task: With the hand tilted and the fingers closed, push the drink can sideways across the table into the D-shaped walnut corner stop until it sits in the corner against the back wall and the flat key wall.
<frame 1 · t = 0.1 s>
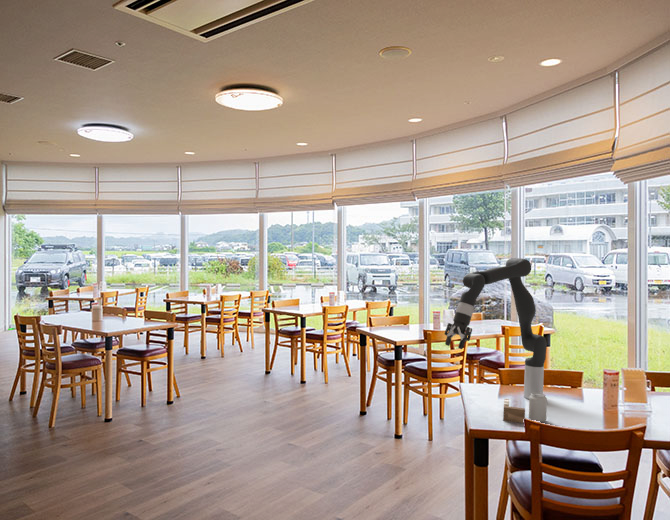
hand: (453, 346, 234), 31 cm above the table, tool tilted 20°, fingers open, 8 cm apart
corner stop: (514, 417, 232), on the table
can: (537, 420, 229), on the table
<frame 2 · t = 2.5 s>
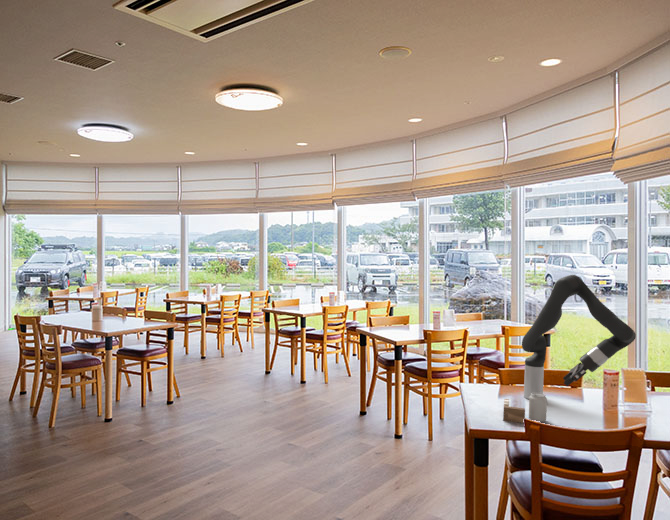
hand: (564, 382, 224), 19 cm above the table, tool tilted 45°, fingers open, 8 cm apart
nothing on the table moved.
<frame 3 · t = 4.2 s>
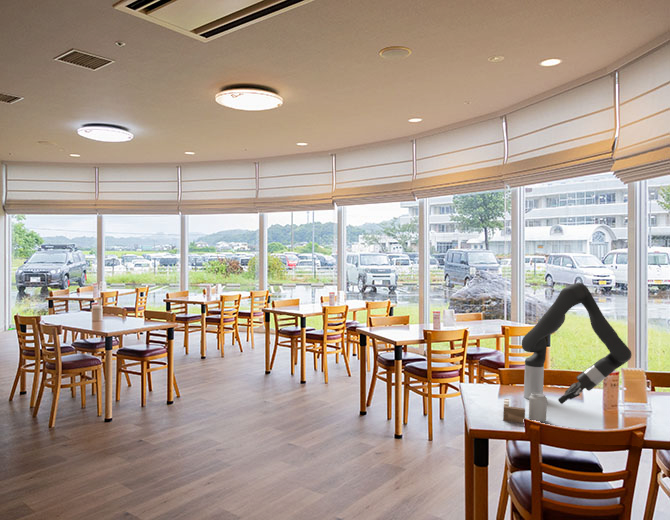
hand: (559, 401, 225), 10 cm above the table, tool tilted 45°, fingers closed
nothing on the table moved.
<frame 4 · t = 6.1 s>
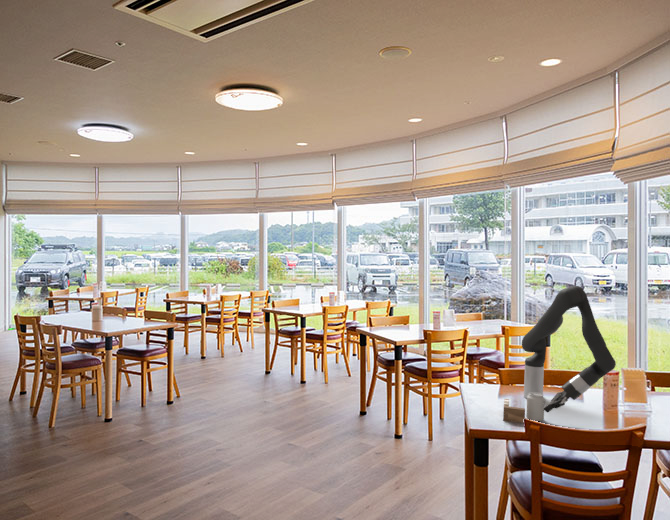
hand: (545, 410, 228), 5 cm above the table, tool tilted 45°, fingers closed
can: (535, 420, 229), on the table, touching gripper
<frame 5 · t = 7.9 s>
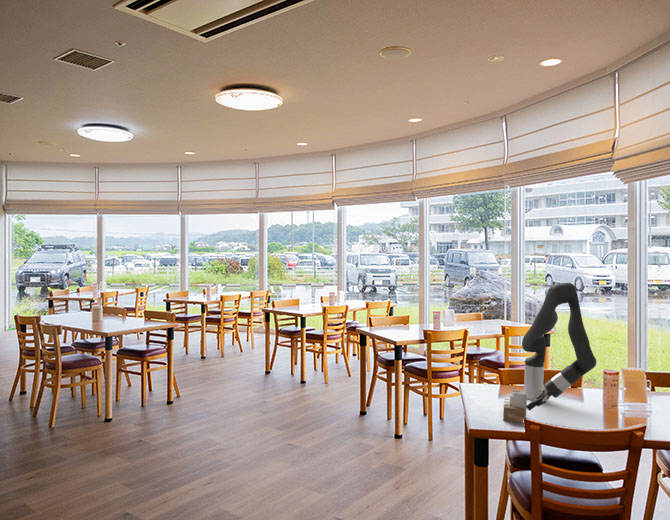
hand: (527, 408, 230), 5 cm above the table, tool tilted 45°, fingers closed
can: (517, 418, 231), on the table, touching gripper
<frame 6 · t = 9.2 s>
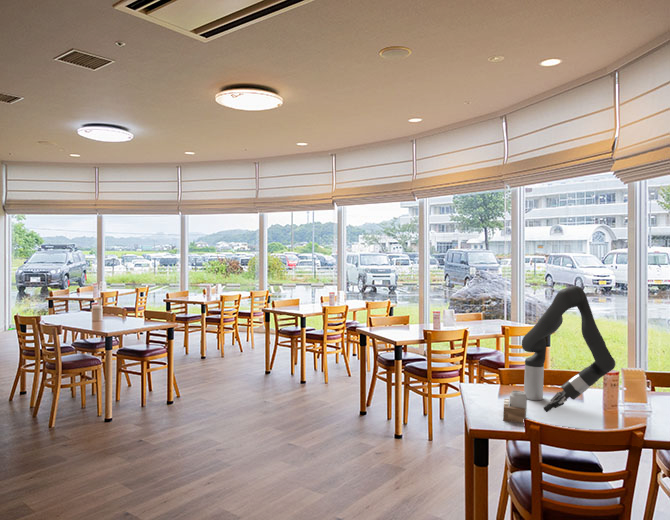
hand: (544, 410, 227), 5 cm above the table, tool tilted 45°, fingers closed
can: (517, 418, 231), on the table
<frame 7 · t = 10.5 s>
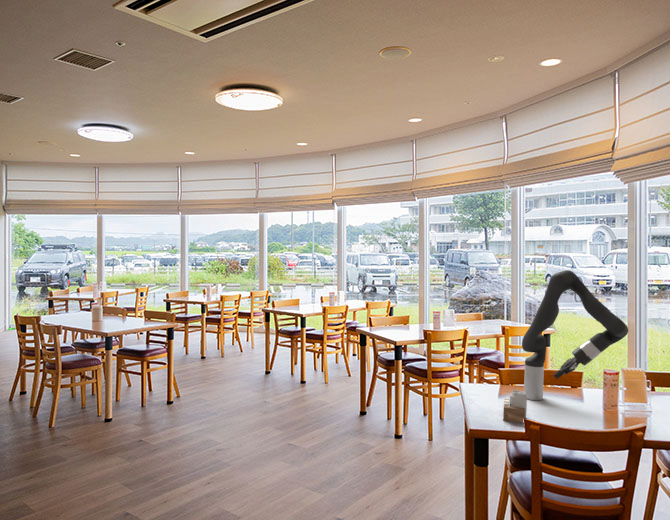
hand: (555, 376, 226), 21 cm above the table, tool tilted 45°, fingers closed
nothing on the table moved.
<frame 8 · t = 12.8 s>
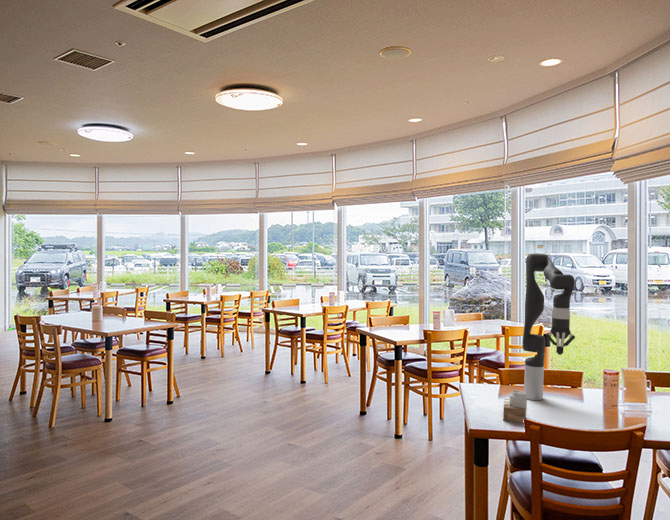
hand: (559, 354, 234), 29 cm above the table, tool pointing down, fingers closed
nothing on the table moved.
at the end: can inside the target area (0.5 cm from its centre), on the table; can tilted 0°; can moved 8.5 cm from its start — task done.
